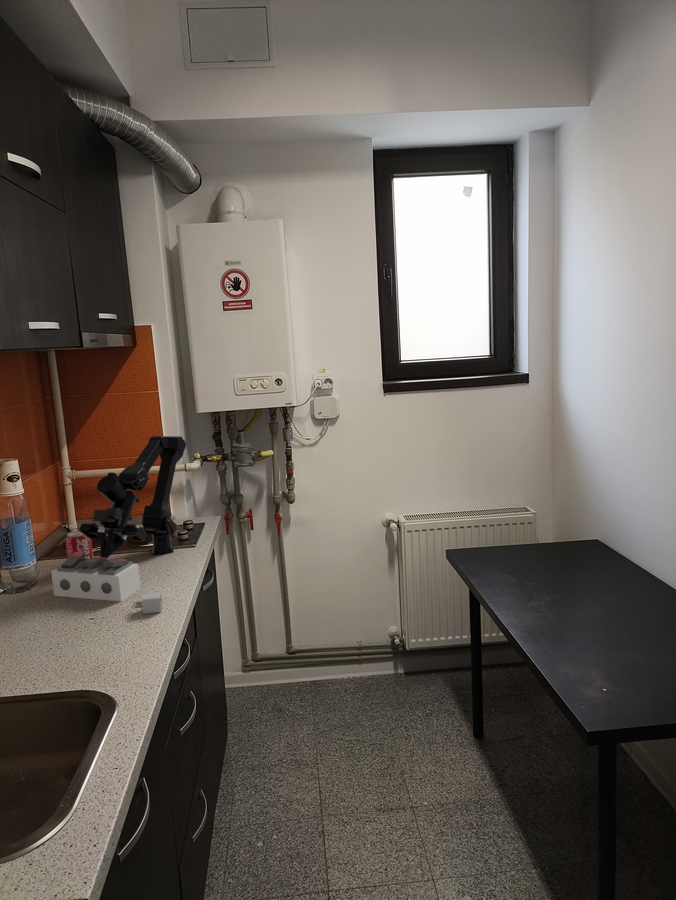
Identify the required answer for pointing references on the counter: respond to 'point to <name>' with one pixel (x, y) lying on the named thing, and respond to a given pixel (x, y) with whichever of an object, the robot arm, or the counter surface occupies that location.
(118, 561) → the rocker switch
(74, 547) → the soda can
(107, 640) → the counter surface
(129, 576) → the power block
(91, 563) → the outlet rocker
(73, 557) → the outlet rocker
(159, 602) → the usb wall charger
